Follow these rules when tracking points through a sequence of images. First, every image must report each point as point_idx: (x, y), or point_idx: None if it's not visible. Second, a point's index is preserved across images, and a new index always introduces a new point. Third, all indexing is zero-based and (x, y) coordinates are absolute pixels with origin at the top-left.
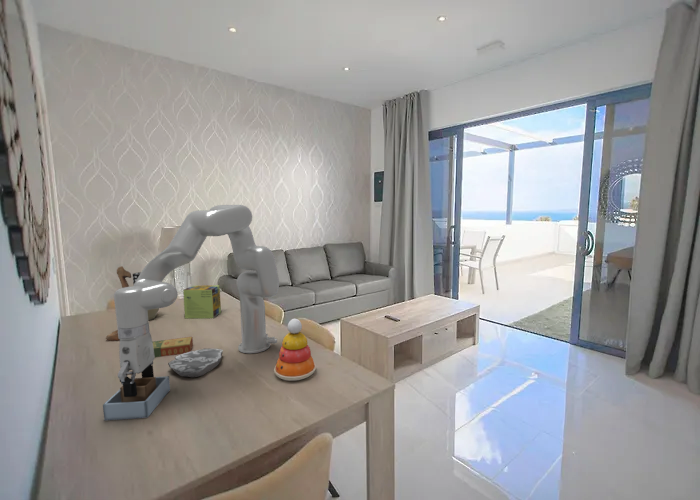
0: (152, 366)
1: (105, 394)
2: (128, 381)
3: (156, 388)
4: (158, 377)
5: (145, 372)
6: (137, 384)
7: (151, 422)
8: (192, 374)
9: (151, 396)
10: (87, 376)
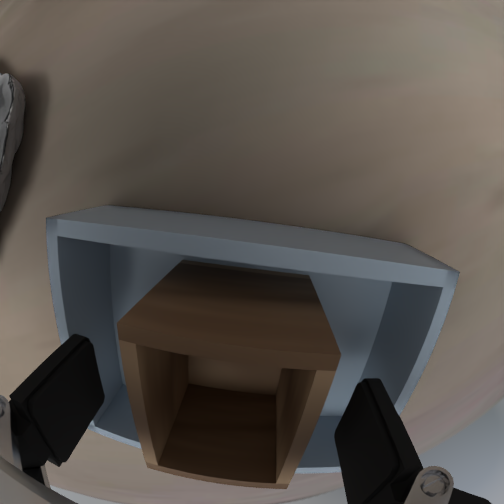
0: (19, 393)
1: (141, 449)
2: (457, 498)
3: (247, 260)
4: (59, 297)
5: (74, 412)
6: (166, 412)
7: (446, 210)
8: (16, 122)
9: (390, 260)
10: (66, 466)
